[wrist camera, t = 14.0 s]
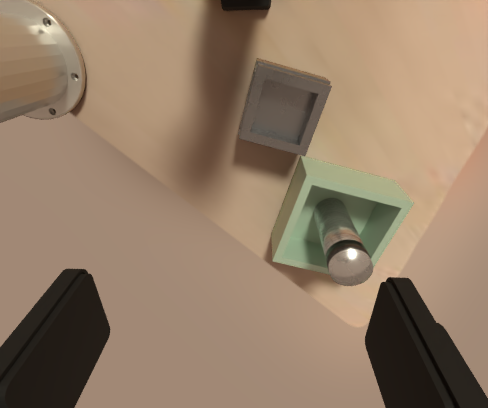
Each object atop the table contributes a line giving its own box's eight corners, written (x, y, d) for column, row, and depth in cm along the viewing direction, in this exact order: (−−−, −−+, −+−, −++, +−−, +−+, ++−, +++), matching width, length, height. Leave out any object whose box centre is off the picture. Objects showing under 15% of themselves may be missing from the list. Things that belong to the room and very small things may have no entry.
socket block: (239, 127, 38) (236, 139, 33) (257, 57, 34) (256, 62, 29) (301, 143, 38) (306, 158, 34) (325, 77, 34) (334, 84, 30)
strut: (314, 197, 41) (331, 252, 31) (348, 197, 41) (377, 253, 30) (311, 225, 43) (326, 285, 33) (344, 225, 43) (369, 286, 33)
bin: (271, 234, 46) (272, 261, 40) (300, 155, 39) (306, 174, 34) (352, 254, 47) (364, 282, 41) (394, 180, 40) (414, 203, 35)
